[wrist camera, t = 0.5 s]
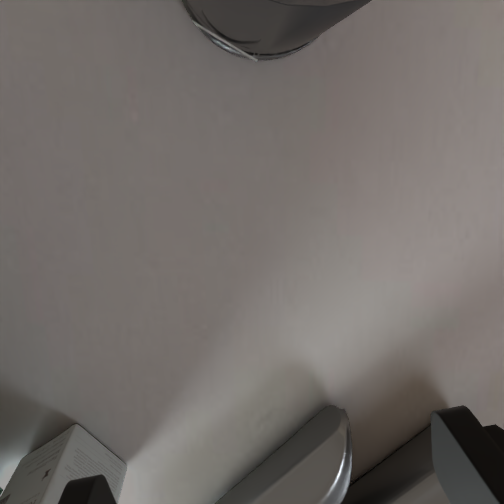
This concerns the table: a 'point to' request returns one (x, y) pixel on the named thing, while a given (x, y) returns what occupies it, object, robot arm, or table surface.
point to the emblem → (339, 470)
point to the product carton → (63, 468)
